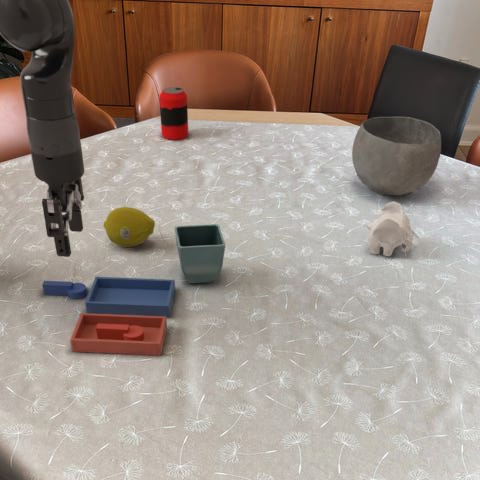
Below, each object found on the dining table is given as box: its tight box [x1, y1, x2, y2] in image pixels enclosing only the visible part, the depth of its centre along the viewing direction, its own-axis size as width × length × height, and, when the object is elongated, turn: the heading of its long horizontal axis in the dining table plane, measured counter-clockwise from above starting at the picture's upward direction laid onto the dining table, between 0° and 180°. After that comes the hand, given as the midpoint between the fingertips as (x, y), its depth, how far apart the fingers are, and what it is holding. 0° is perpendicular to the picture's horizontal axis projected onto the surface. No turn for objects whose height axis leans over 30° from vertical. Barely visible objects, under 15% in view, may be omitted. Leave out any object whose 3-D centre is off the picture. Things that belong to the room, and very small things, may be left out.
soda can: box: [158, 86, 189, 141], centre depth 181 cm, size 8×8×12 cm
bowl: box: [351, 116, 442, 196], centre depth 156 cm, size 20×20×15 cm
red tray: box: [69, 312, 168, 356], centre depth 113 cm, size 15×8×2 cm, turn 88°
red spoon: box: [96, 323, 144, 341], centre depth 113 cm, size 8×4×2 cm, turn 87°
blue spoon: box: [41, 280, 88, 300], centre depth 123 cm, size 8×4×2 cm, turn 88°
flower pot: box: [173, 223, 226, 284], centre depth 126 cm, size 9×9×9 cm
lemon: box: [103, 206, 156, 248], centre depth 136 cm, size 11×8×8 cm
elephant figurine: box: [363, 201, 421, 257], centre depth 136 cm, size 10×12×9 cm
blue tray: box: [84, 276, 176, 318], centre depth 121 cm, size 15×9×2 cm, turn 88°
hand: (70, 242), depth 109 cm, fingers open, 8 cm apart
